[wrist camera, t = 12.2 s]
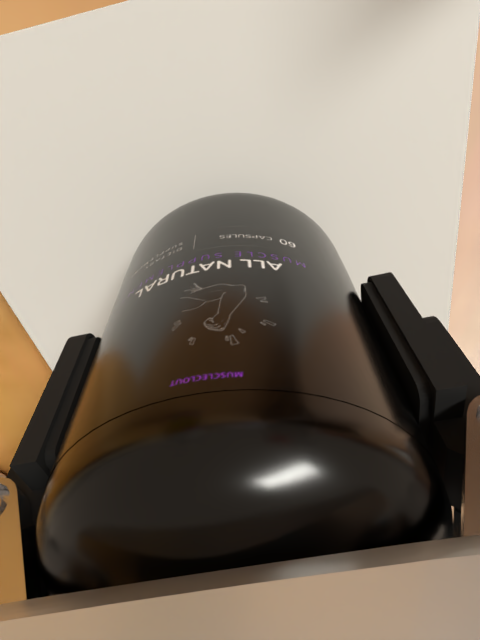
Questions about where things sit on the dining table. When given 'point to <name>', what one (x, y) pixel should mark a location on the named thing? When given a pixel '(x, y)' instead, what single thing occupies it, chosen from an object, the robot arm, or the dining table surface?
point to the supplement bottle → (234, 413)
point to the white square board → (230, 139)
